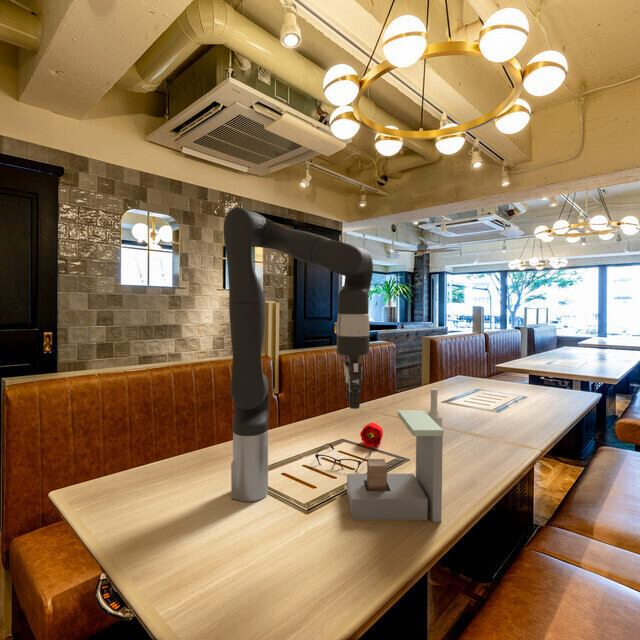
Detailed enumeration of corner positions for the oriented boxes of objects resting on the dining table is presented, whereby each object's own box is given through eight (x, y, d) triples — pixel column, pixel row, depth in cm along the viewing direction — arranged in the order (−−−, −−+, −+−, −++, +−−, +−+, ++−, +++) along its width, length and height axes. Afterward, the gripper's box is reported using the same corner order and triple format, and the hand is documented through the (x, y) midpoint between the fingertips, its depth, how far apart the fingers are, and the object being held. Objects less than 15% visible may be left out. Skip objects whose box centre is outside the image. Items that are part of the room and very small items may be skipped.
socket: (351, 519, 93) (351, 499, 93) (346, 491, 107) (347, 473, 107) (427, 519, 93) (427, 499, 93) (412, 491, 107) (413, 473, 107)
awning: (412, 523, 92) (413, 430, 91) (397, 489, 109) (397, 410, 108) (442, 523, 92) (443, 430, 91) (422, 489, 109) (423, 410, 108)
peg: (386, 505, 98) (387, 466, 97) (368, 505, 98) (369, 465, 98) (383, 496, 102) (384, 459, 102) (367, 496, 102) (367, 458, 102)
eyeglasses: (312, 466, 125) (312, 453, 125) (329, 449, 140) (329, 438, 140) (362, 474, 119) (362, 461, 119) (375, 456, 134) (375, 444, 134)
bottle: (428, 463, 126) (429, 386, 125) (444, 468, 123) (445, 388, 122) (421, 469, 122) (422, 389, 121) (437, 473, 119) (438, 391, 118)
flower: (387, 427, 147) (385, 433, 139) (378, 445, 148) (375, 452, 140) (368, 417, 149) (365, 422, 141) (360, 434, 150) (356, 441, 142)
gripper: (373, 336, 83) (373, 412, 84) (365, 331, 98) (365, 396, 98) (338, 336, 83) (338, 412, 84) (335, 331, 97) (335, 396, 98)
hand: (352, 403), depth 91 cm, fingers open, 8 cm apart
